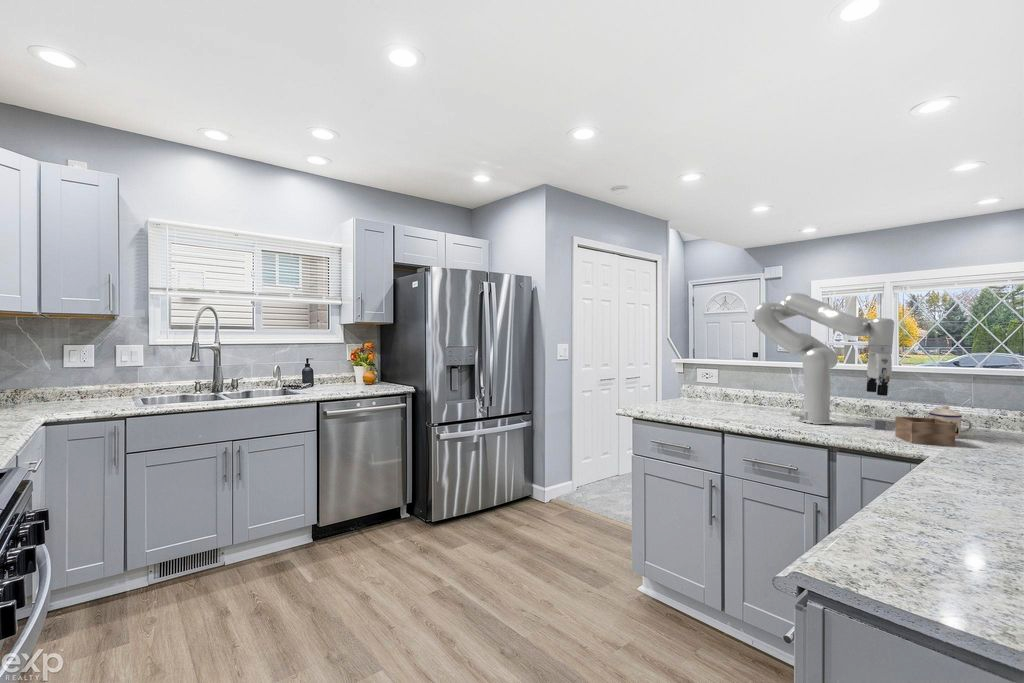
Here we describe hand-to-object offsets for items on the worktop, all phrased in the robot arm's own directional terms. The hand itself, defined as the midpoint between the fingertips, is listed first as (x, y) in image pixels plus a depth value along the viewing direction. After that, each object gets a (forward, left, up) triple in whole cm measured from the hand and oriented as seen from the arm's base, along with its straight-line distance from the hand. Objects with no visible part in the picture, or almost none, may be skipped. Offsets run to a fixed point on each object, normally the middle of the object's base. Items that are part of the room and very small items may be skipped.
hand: (876, 393), depth 188 cm
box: (+7, -20, -15) cm, 26 cm away
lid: (+1, 0, -15) cm, 15 cm away
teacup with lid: (+21, -6, -15) cm, 26 cm away
